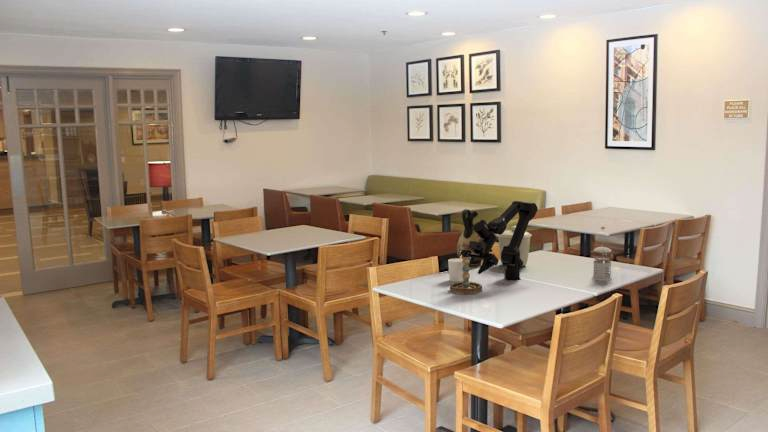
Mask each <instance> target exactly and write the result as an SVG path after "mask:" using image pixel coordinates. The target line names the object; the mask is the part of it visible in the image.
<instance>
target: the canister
mask: <svg viewBox="0 0 768 432" xmlns="http://www.w3.org/2000/svg"><path fill="white" fill-rule="evenodd" d="M515 228H516V225H512V226H510V230H508V229H507V230H505V231H504V232H503V234H501V235H500V234H496V236H497V237H498V239H499V243H498V250H499V259H500V263H501V264H502V261H501V252H502V250H503V247H504V246H508V245H509V244H510V241H511V239H512V236H513V233H514V231H515ZM532 236H533V234H531V233H530V232H528V231H527V230H526V231H525V234H524V236H523V239H522V242H521V244H520V247H519V250H520V258H521V260H522V261H523V266H522V267H525V266H526V265H527V263H528V259H529V252H530V244H531V237H532ZM503 266H504V267H505V265H503Z"/></svg>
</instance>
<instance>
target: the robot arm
mask: <svg viewBox="0 0 768 432" xmlns="http://www.w3.org/2000/svg"><path fill="white" fill-rule="evenodd" d="M538 208H539V207H538V206H537V204H536V203H535V202H529V201H528V202H525V201H521V200H520V201H519V200H513V201H512V202H511V205H509V206H508V207H507V208H506V209H505V210H504V211H503V212H502V214H500V215H499V216H497V217H496V218H494V219H492V220H490V221H489V222H488V223H487V221H486V220H485V219H480V221H478V222H476V223H475V224H473V225H474V227H473V230H474V231H475V232H476V234H477V235H478V236H479V237H480V238H483V239H482V241H480V242H475V241H470V242H469V246H468V248H471V249H473V250H472V251H473V252H475V254H473V253H472V252H471V251H470V250H467V249H463V250H462V251H461V255H462V256H463V257H469V260H470V263H469V267H470V266H471V265H470V264H471V263H472V260H474V258H477V259H483V260H482V262H481V265H480V267H479V269H478V271H477V274H478V275H481V274H482V273H484V272H485V271H487V270H489V269H490V268H492V267H496V266H498V265H499V258H498V257H497V256H496V255H495V254H494V253H493V249H492V248H493V247H494V244H496V243H498V244H499V239H498V236H497V234H500V235H501V234H503V232H504V231H507V230H506V229H507V228H508V227H507V226H508V223H510V221H512V219H513V218H515V216H517V215H518V217H519V218H518V221H517V222H516V225H515V226H516V228H515V231H514V233H513V236H512V239H511V241H510V244H509V245H508V246H504V247H503V250H502V252H501V260H500V262H501V261H502V263H501V265H502V266H504V265H505V266H504V267H505V268H504V270H503V272H504V275H503V276H504V278H505V279H506V280H507V281H513V280H514V281H515V280H516V281H517V280H521V277H520V276H521V275H520V273H521V272H520V271H521V270H520V269H521V268H522V267H524V266H523V261H522V260H521V258H520V250H519V247H520V244H521V242H522V239H523V236H524V234H525V231H526V232H527V228H528V225H529V223H530V222H531V220H532V219H534V218H535V217H536V214H537V213H538V210H539V209H538Z"/></svg>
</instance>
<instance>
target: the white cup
mask: <svg viewBox="0 0 768 432" xmlns="http://www.w3.org/2000/svg"><path fill="white" fill-rule="evenodd" d="M447 260H448V261H447V263H448V274H449V281H450V282H452V283H457V282H463V278H462V275H463V270H462V267H463V263H462V260H463V259H460V258H459V257H458V258H450V259H447Z"/></svg>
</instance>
